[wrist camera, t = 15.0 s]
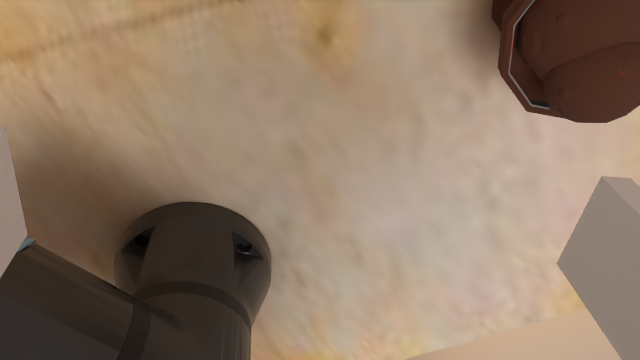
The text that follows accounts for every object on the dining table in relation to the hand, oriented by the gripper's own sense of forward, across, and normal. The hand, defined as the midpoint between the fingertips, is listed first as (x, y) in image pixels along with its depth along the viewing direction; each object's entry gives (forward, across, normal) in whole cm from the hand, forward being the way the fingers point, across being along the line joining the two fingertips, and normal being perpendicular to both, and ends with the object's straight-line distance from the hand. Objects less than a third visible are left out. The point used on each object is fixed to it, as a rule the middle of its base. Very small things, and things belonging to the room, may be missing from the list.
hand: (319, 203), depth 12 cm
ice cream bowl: (+31, -19, +1) cm, 36 cm away
